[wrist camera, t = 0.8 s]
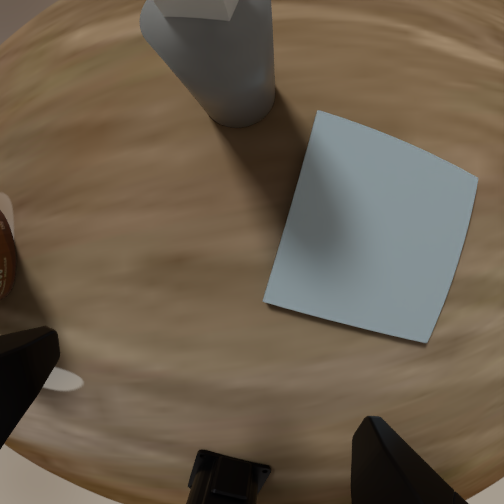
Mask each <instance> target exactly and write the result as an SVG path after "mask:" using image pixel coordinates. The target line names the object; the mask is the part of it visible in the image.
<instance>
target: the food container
mask: <svg viewBox="0 0 504 504" xmlns="http://www.w3.org/2000/svg"><path fill="white" fill-rule="evenodd" d="M15 275H16V251H15V245H14V240H13V236H12V233H11V229H10V227H9V224H8V222H7V220H6V218H5V216H4V214H3V213H2V212H1V211H0V300H1V299H3V298H4V297H6V296H7V295H8V293H9V292H10V291H11V290H12V287H13V284H14V281H15Z"/></svg>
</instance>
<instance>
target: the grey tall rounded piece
mask: <svg viewBox="0 0 504 504" xmlns="http://www.w3.org/2000/svg"><path fill="white" fill-rule="evenodd" d="M140 29H141V32H142V34H143V37H144V38H145V39H146V41H147V42H148V43H149V44H150V45H151V47H152V48H153V49H154V50H155V51H156V52H157V53H158V55H159V56H160V57H161V58H162V59H163V60H164V62H165V63H166V64H167V65H168V66H169V67H170V69H171V70H172V71H173V72H174V73H175V75H176V76H177V77H178V78H179V79H180V80H181V82H182V83H183V84H184V85H185V86H186V88H187V89H188V90H189V91H190V93H191V94H192V95H193V96H194V97H195V99H196V100H197V101H198V102H199V103H200V105H201V106H202V107H203V108H204V110H205V111H206V112H207V113H208V115H209V116H210V117H211V118H212V119H213V120H214V121H216V122H217V123H219V124H221V125H224V126H227V127H233V128H240V127H247V126H250V125H253V124H255V123H257V122H259V121H260V120H262V119H263V118H264V117H265V116H266V115H267V114H268V113H269V111H270V110H271V108H272V106H273V103H274V100H275V75H274V50H273V29H272V10H271V0H147V1H146V2H145V4H144V6H143V8H142V11H141V15H140Z"/></svg>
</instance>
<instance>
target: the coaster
mask: <svg viewBox="0 0 504 504" xmlns="http://www.w3.org/2000/svg"><path fill="white" fill-rule="evenodd" d="M477 183H478V178H477V177H476V176H474V175H472V174H470V173H468V172H466V171H465V170H463V169H461V168H459V167H457V166H455V165H453V164H451V163H449V162H447V161H445V160H443V159H441V158H439V157H437V156H435V155H433V154H431V153H429V152H427V151H424V150H422V149H420V148H418V147H416V146H413V145H411V144H409V143H407V142H404V141H402V140H399V139H397V138H395V137H392V136H390V135H387V134H385V133H382V132H380V131H377V130H375V129H372V128H369V127H367V126H364V125H361V124H358V123H356V122H353V121H350V120H347V119H344V118H341V117H338V116H335V115H332V114H329V113H326V112H322V111H319V110H318V111H317V113H316V116H315V120H314V124H313V127H312V131H311V135H310V138H309V142H308V146H307V149H306V153H305V157H304V160H303V164H302V167H301V171H300V175H299V178H298V182H297V185H296V189H295V192H294V196H293V199H292V203H291V206H290V210H289V213H288V217H287V220H286V224H285V227H284V230H283V234H282V237H281V241H280V244H279V247H278V251H277V254H276V257H275V261H274V264H273V267H272V271H271V274H270V277H269V281H268V284H267V287H266V291H265V294H264V297H263V302H266V303H269V304H273V305H276V306H280V307H283V308H287V309H291V310H294V311H298V312H301V313H305V314H309V315H313V316H316V317H320V318H324V319H328V320H332V321H335V322H339V323H343V324H347V325H351V326H355V327H359V328H363V329H367V330H371V331H375V332H380V333H384V334H388V335H392V336H396V337H401V338H405V339H410V340H414V341H418V342H423V343H427V342H428V340H429V338H430V335H431V333H432V331H433V329H434V326H435V324H436V321H437V319H438V317H439V314H440V312H441V309H442V307H443V304H444V301H445V299H446V296H447V293H448V291H449V288H450V285H451V282H452V279H453V276H454V273H455V270H456V267H457V264H458V261H459V257H460V254H461V251H462V247H463V244H464V240H465V237H466V233H467V229H468V225H469V221H470V217H471V212H472V208H473V203H474V199H475V194H476V188H477Z"/></svg>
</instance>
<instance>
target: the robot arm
mask: <svg viewBox="0 0 504 504" xmlns="http://www.w3.org/2000/svg"><path fill="white" fill-rule="evenodd" d="M59 357H60V348H59V340H58V334H57V332H56V331H55V330H54V329H52V328H49V327H47V326H42V327H38V328H34V329H29V330H25V331H20V332H16V333H11V334H6V335H2V336H0V449H1V448H2V446H3V445H4V443H5V441H6V440H7V438H8V437H9V435H10V434H11V433H12V431H13V430H14V428H15V427H16V425H17V424H18V422H19V421H20V419H21V418H22V417H23V415H24V414H25V412H26V411H27V410H28V408H29V407H30V405H31V404H32V403H33V401H34V400H35V398H36V397H37V395H38V394H39V392H40V391H41V389H42V387H43V385H44V384H45V382H46V380H47V378H48V377H49V375H50V373H51V372H52V370H53V368H54V367H55V365H56V363H57V362H58V360H59ZM202 454H203V455H202ZM270 473H271V467H270V466H268V465H263V464H258V463H253V462H249V461H244V460H240V459H236V458H232V457H228V456H224V455H221V454H217V453H213V452H210V451H206V450H199V451H198V453H197V456H196V459H195V462H194V466H193V469H192V473H191V476H190V479H189V483H188V487H189V488H190V489H191V490H190V493H189V497H188V500H187V503H186V504H256V501H257V494H258V493H259V491H260V489H261V488H262V486H263V484H264V483H265V481H266V479H267V478H268V476H269V474H270ZM351 498H352V504H468V503H467V502H466V501H465V500H464V499H463V498H462V497H461V496H460V495H459V494H458V493H457V492H454V489H453V488H451V487H450V486H449V485H448V484H447V483H446V482H445V481H444V480H443V479H442V478H441V477H440V476H439V475H438V474H437V473H436V472H435V471H434V470H433V469H432V468H431V467H430V466H429V465H428V464H427V463H426V462H425V461H424V460H423V459H422V458H421V457H420V456H419V455H418V454H417V453H416V452H415V451H414V450H413V449H412V448H411V447H410V446H409V445H408V444H407V443H406V442H405V441H404V440H403V439H402V438H401V437H400V436H399V435H398V434H397V433H396V432H395V431H394V430H393V429H392V428H391V427H390V426H389V425H388V424H387V423H386V422H385V421H384V420H383V419H382V418H381V417H379V416H367V417H365V418H364V420H363V421H362V423H361V424H360V426H359V427H358V429H357V430H356V432H355V433H354V436H353V439H352V464H351Z"/></svg>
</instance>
